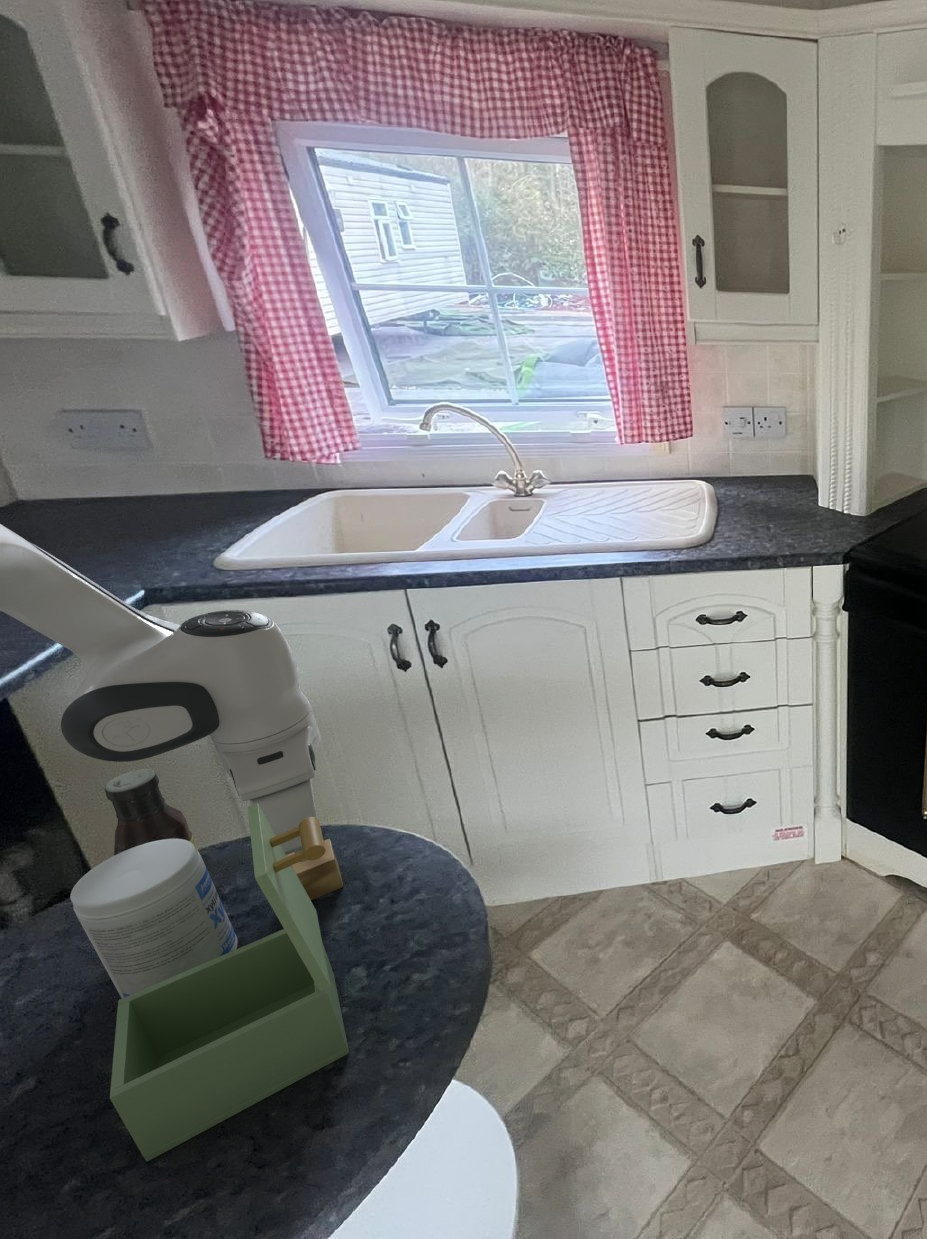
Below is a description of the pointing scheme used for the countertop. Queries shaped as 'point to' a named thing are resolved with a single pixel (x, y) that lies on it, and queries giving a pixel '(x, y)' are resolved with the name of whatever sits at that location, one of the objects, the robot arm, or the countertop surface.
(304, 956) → the lid
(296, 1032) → the chest
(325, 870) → the block
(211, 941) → the supplement tub
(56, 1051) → the countertop surface
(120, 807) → the sauce bottle
